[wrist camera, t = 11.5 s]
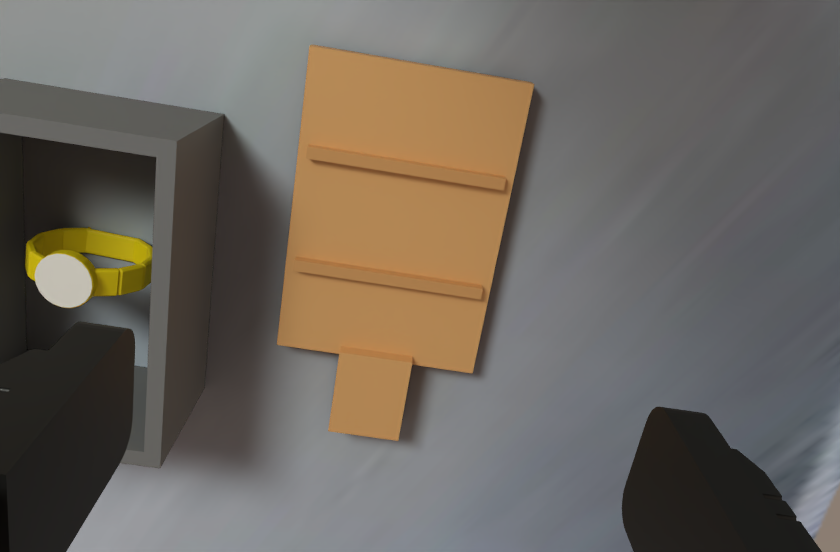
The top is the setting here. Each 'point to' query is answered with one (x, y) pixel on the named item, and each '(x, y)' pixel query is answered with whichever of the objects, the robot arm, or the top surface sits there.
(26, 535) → the robot arm
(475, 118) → the wooden paddle board
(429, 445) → the top surface
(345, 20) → the top surface
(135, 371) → the tub
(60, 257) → the watch
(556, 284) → the top surface
